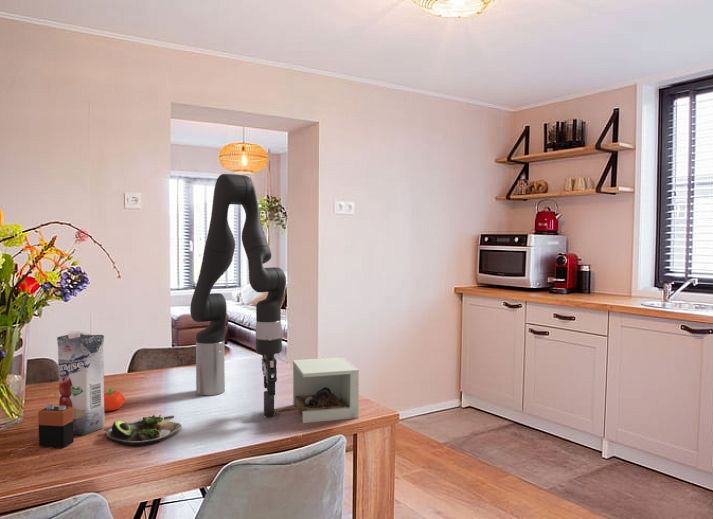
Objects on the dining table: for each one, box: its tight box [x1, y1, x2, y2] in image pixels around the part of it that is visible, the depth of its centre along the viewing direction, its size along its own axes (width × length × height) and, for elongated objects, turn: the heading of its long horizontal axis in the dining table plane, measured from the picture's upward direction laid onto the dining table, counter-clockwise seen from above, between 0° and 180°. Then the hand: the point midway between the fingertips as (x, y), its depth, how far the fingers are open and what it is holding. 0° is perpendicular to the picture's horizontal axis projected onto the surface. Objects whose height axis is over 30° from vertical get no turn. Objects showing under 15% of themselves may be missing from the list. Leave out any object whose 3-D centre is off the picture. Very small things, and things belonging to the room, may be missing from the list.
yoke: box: [263, 390, 345, 418], centre depth 161 cm, size 22×14×7 cm, turn 106°
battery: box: [37, 403, 74, 449], centre depth 136 cm, size 4×7×10 cm, turn 82°
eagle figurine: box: [305, 387, 331, 408], centre depth 164 cm, size 8×7×9 cm
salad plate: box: [103, 414, 183, 448], centre depth 145 cm, size 19×18×5 cm
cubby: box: [292, 356, 360, 424], centre depth 163 cm, size 16×17×14 cm
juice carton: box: [56, 330, 105, 437], centre depth 146 cm, size 9×10×27 cm
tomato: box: [104, 388, 126, 412], centre depth 164 cm, size 7×8×6 cm
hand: (269, 391), depth 158 cm, fingers open, 8 cm apart
